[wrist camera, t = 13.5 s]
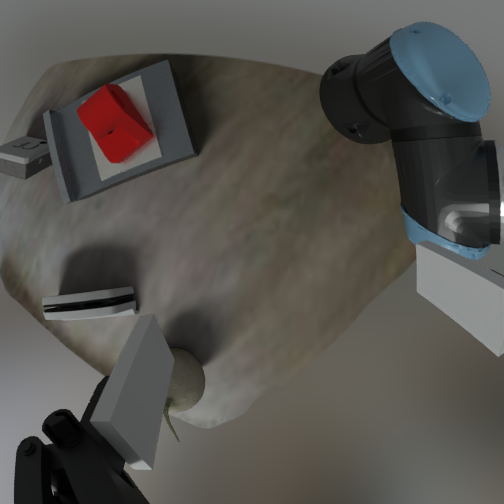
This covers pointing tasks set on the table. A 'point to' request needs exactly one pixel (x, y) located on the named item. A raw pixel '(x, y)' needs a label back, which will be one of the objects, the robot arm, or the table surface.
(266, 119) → the table surface
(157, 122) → the grey ridged box
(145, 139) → the bracket
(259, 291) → the table surface
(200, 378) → the fruit
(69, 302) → the grey curved slab
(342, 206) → the table surface
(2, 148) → the electrical switch
